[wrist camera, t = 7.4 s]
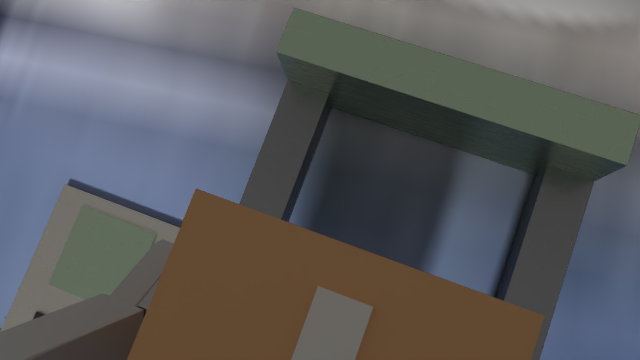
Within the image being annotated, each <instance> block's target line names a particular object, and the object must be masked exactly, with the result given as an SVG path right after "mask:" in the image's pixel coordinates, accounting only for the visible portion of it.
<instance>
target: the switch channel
mask: <svg viewBox="0 0 640 360" xmlns="http://www.w3.org/2000/svg"><path fill="white" fill-rule="evenodd" d="M276 52H277V55H278V57H279V60H280V62H281V64H282V67H283V69H284V72H285V74H286V77H287V79H288V82H287V84H286V87H285V89H284V92H283V94H282V97H281V99H280V102H279V105H278V107H277V110H276V112H275V115H274V117H273V120H272V122H271V125H270V127H269V130H268V133H267V135H266V138H265V140H264V143H263V145H262V148H261V150H260V153H259V155H258V158H257V160H256V163H255V166H254V168H253V171H252V173H251V176H250V178H249V181H248V183H247V186H246V188H245V191H244V194H243V196H242V199H241V201H240V205H242V206H245V207H248V208H251V209H253V210H256V211H259V212H262V213H264V214H267V215H270V216H272V217H275V218H278V219H281V220H283V221H286V222H288V221H289V219H290V216H291V214H292V211H293V208H294V206H295V203H296V200H297V198H298V195H299V193H300V190H301V187H302V185H303V182H304V179H305V177H306V174H307V171H308V169H309V166H310V164H311V161H312V158H313V156H314V153H315V150H316V148H317V145H318V142H319V140H320V137H321V135H322V132H323V129H324V127H325V124H326V121H327V119H328V116H329V113H330V111H331V108H332V107H334V108H337V109H340V110H343V111H346V112H349V113H352V114H355V115H358V116H361V117H364V118H367V119H370V120H373V121H376V122H379V123H382V124H385V125H388V126H391V127H394V128H397V129H400V130H403V131H406V132H409V133H412V134H415V135H418V136H421V137H424V138H427V139H430V140H433V141H436V142H439V143H442V144H445V145H448V146H451V147H454V148H457V149H460V150H463V151H466V152H469V153H472V154H475V155H478V156H481V157H484V158H487V159H490V160H493V161H496V162H499V163H502V164H505V165H508V166H511V167H514V168H517V169H520V170H523V171H526V172H529V173H532V174H535V176H534V179H533V182H532V185H531V188H530V191H529V194H528V197H527V200H526V204H525V207H524V210H523V213H522V216H521V219H520V222H519V225H518V228H517V231H516V235H515V238H514V241H513V244H512V247H511V250H510V253H509V256H508V259H507V262H506V266H505V269H504V272H503V275H502V278H501V281H500V284H499V287H498V290H497V293H496V296H495V298H497V299H500V300H503V301H505V302H508V303H511V304H514V305H516V306H519V307H522V308H525V309H527V310H530V311H533V312H535V313H538V314H541V315H544V319H543V322H542V325H541V329H540V332H539V335H538V338H537V342H536V345H535V348H534V351H533V355H532V358H531V360H539V359H540V355H541V352H542V349H543V346H544V342H545V339H546V336H547V333H548V329H549V326H550V323H551V320H552V316H553V313H554V310H555V307H556V303H557V300H558V297H559V294H560V290H561V287H562V284H563V281H564V277H565V274H566V271H567V268H568V264H569V261H570V258H571V255H572V251H573V248H574V245H575V242H576V238H577V235H578V232H579V229H580V225H581V222H582V219H583V216H584V212H585V209H586V206H587V203H588V199H589V196H590V193H591V190H592V186H593V183H594V181H596V180H598V179H600V178H602V177H604V176H606V175H608V174H610V173H612V172H614V171H617V170H619V169H621V168H623V167H625V166H627V164H628V161H629V158H630V154H631V151H632V148H633V144H634V141H635V138H636V134H637V131H638V128H639V125H640V115H638V114H635V113H631V112H628V111H625V110H622V109H619V108H615V107H612V106H609V105H606V104H602V103H599V102H596V101H593V100H590V99H586V98H583V97H580V96H577V95H573V94H570V93H567V92H564V91H561V90H557V89H554V88H551V87H548V86H544V85H541V84H538V83H535V82H532V81H528V80H525V79H522V78H519V77H515V76H512V75H509V74H506V73H503V72H499V71H496V70H493V69H490V68H486V67H483V66H480V65H477V64H474V63H470V62H467V61H464V60H461V59H457V58H454V57H451V56H448V55H445V54H441V53H438V52H435V51H432V50H428V49H425V48H422V47H419V46H416V45H412V44H409V43H406V42H403V41H399V40H396V39H393V38H390V37H387V36H383V35H380V34H377V33H374V32H370V31H367V30H364V29H361V28H358V27H354V26H351V25H348V24H345V23H341V22H338V21H335V20H332V19H329V18H325V17H322V16H319V15H316V14H312V13H309V12H306V11H303V10H300V9H296V8H294V9H293V11H292V14H291V16H290V19H289V21H288V24H287V26H286V29H285V31H284V34H283V36H282V39H281V41H280V44H279V46H278V49H277V51H276ZM179 229H180V227H177V226H174V225H172V224H169V223H166V222H164V221H161V220H159V219H156V218H153V217H151V216H148V215H145V214H143V213H140V212H137V211H135V210H132V209H130V208H127V207H124V206H122V205H119V204H116V203H114V202H111V201H108V200H106V199H103V198H101V197H98V196H95V195H93V194H90V193H87V192H85V191H82V190H79V189H77V188H74V187H72V186H69V185H66V184H65V185H64V187H63V189H62V192H61V194H60V196H59V198H58V201H57V203H56V205H55V208H54V210H53V212H52V214H51V217H50V219H49V221H48V224H47V226H46V228H45V230H44V233H43V235H42V237H41V240H40V242H39V244H38V246H37V249H36V251H35V253H34V256H33V258H32V260H31V262H30V265H29V267H28V269H27V271H26V274H25V276H24V278H23V281H22V283H21V285H20V287H19V290H18V292H17V294H16V297H15V299H14V301H13V303H12V306H11V308H10V310H9V313H8V315H7V317H6V319H5V322H4V324H3V326H2V328H1V331H4V330H7V329H9V328H12V327H14V326H17V325H20V324H22V323H25V322H28V321H30V320H33V319H36V318H38V317H41V316H44V315H46V314H49V313H51V312H54V311H57V310H59V309H62V308H65V307H67V306H70V305H73V304H75V303H78V302H81V301H83V300H86V299H88V298H91V297H94V296H96V295H99V294H102V293H104V294H106V295H109V296H110V295H111V294H112V292H113V291H114V290H115V289H116V288H117V287H118V285H119V284H120V283H121V282H122V281H123V280H124V278H125V277H126V276H127V275H128V274H129V273H130V271H131V270H132V269H133V268H134V267H135V266H136V264H137V263H138V262H139V261H140V260H141V259H142V257H143V256H144V255H145V254H146V253H147V252H148V251H149V249H150V248H151V247H152V246H153V245H154V244H155V243H156V242H158V241H160V240H161V239H163V240H166V241H168V242H171V243H173V244H174V242H175V239H176V237H177V234H178V232H179ZM1 331H0V332H1Z"/></svg>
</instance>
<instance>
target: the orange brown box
mask: <svg viewBox="0 0 640 360" xmlns="http://www.w3.org/2000/svg"><path fill="white" fill-rule="evenodd" d="M543 319H544V315H541V314H538V313H535V312H533V311H530V310H527V309H525V308H522V307H519V306H516V305H514V304H511V303H508V302H505V301H503V300H500V299H497V298H494V297H492V296H489V295H486V294H483V293H481V292H478V291H475V290H472V289H470V288H467V287H464V286H462V285H459V284H456V283H453V282H451V281H448V280H445V279H442V278H440V277H437V276H434V275H431V274H429V273H426V272H423V271H420V270H418V269H415V268H412V267H409V266H407V265H404V264H401V263H399V262H396V261H393V260H390V259H388V258H385V257H382V256H379V255H377V254H374V253H371V252H368V251H366V250H363V249H360V248H357V247H355V246H352V245H349V244H346V243H344V242H341V241H338V240H336V239H333V238H330V237H327V236H325V235H322V234H319V233H316V232H314V231H311V230H308V229H305V228H303V227H300V226H297V225H294V224H292V223H289V222H286V221H283V220H281V219H278V218H275V217H272V216H270V215H267V214H264V213H262V212H259V211H256V210H253V209H251V208H248V207H245V206H242V205H240V204H237V203H234V202H231V201H229V200H226V199H223V198H220V197H218V196H215V195H212V194H209V193H207V192H204V191H201V190H199V189H196V190H195V192H194V195H193V197H192V200H191V202H190V205H189V207H188V210H187V212H186V215H185V217H184V219H183V222H182V224H181V227H180V229H179V232H178V234H177V237H176V239H175V242H174V244H173V247H172V249H171V252H170V254H169V257H168V259H167V262H166V264H165V267H164V269H163V272H162V274H161V277H160V279H159V281H158V284H157V286H156V289H155V291H154V294H153V296H152V299H151V301H150V304H149V306H148V309H147V311H146V314H145V316H144V319H143V321H142V324H141V326H140V329H139V331H138V334H137V336H136V339H135V341H134V344H133V346H132V348H131V351H130V353H129V356H128V358H127V360H531V358H532V355H533V351H534V348H535V345H536V342H537V338H538V335H539V332H540V329H541V325H542V322H543Z"/></svg>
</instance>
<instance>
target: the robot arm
mask: <svg viewBox="0 0 640 360" xmlns="http://www.w3.org/2000/svg"><path fill="white" fill-rule="evenodd" d="M172 247H173V243H171V242H168V241H166V240H163V239H161V240H160V241H158V242H156V243H155V244H154V245H153V246H152V247H151V248H150V249H149V251H148V252H147V253H146V254H145V255H144V256H143V257H142V259H141V260H140V261H139V262H138V263H137V264H136V266H135V267H134V268H133V269H132V270H131V271H130V273H129V274H128V275H127V276H126V277H125V278H124V280H123V281H122V282H121V283H120V284H119V285H118V287H117V288H116V289H115V290H114V291H113V292H112V294H111V295H110V296H109V295H106V294H104V293H102V294H99V295H96V296H94V297H91V298H88V299H86V300H83V301H81V302H78V303H75V304H73V305H70V306H67V307H65V308H62V309H59V310H57V311H54V312H51V313H49V314H46V315H44V316H41V317H38V318H36V319H33V320H30V321H28V322H25V323H22V324H20V325H17V326H14V327H12V328H9V329H7V330H4V331H1V332H0V360H127V358H128V356H129V353H130V351H131V348H132V346H133V344H134V341H135V339H136V336H137V334H138V331H139V329H140V326H141V324H142V321H143V319H144V316H145V314H146V311H147V309H148V306H149V304H150V301H151V299H152V296H153V294H154V291H155V289H156V286H157V284H158V281H159V279H160V277H161V274H162V272H163V269H164V267H165V264H166V262H167V259H168V257H169V254H170V252H171V249H172Z"/></svg>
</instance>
